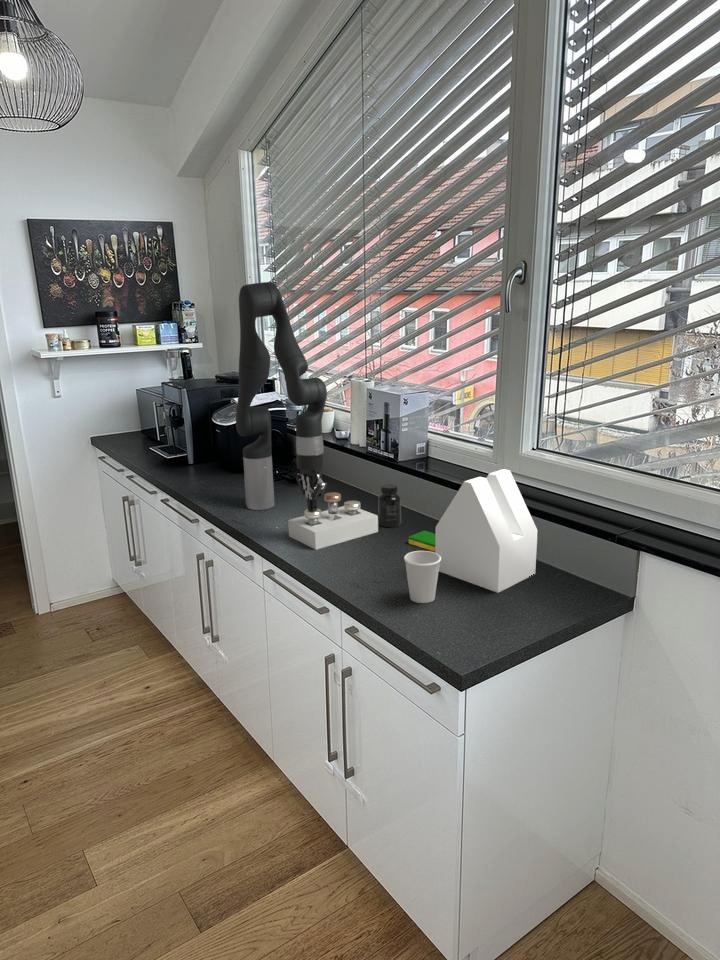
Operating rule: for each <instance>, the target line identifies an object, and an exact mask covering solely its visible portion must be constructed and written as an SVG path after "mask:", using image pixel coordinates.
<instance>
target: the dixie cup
mask: <svg viewBox="0 0 720 960" xmlns="http://www.w3.org/2000/svg"><path fill="white" fill-rule="evenodd" d="M403 559H404V563H405V568H406V569H405V570H406V577H407V584H408V585H407V586H408V592H409V598H410V601H412V602H415V603H417V604H427V603H432V602H433V601H434V600H435V598H436V593H437V584H438V579H439V573H440V571H439V565H440V561H441V557H440V556H439V555H438V554H437V553H435V552H434V551H431V550H416V551H409V552H408V553H406V554H405V555H404V557H403Z"/></svg>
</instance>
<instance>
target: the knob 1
mask: <svg viewBox="0 0 720 960" xmlns="http://www.w3.org/2000/svg"><path fill="white" fill-rule="evenodd" d="M321 512H322V509H320V508H317V511H314V512H310V511H308V508H306V509H305V510H304V511H303V513H304V515H303V516H304V517H305V518H308V525H309V526H314V525H318V518H319V517H321Z"/></svg>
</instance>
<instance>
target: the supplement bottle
mask: <svg viewBox="0 0 720 960" xmlns="http://www.w3.org/2000/svg"><path fill="white" fill-rule="evenodd" d="M380 492H381V494H379V496H378V499H377V501H378V502H377V505H378V506H377V507H378V525H379V526H380V527H383V528H396V527H399V526H401V524H402V499H401V498H402V497H401V495H400V494H399V493H398V492H399V491H398V485H396V484H392V483H391V484H390V483H389V484H383V485H381V487H380Z"/></svg>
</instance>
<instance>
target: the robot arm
mask: <svg viewBox="0 0 720 960" xmlns="http://www.w3.org/2000/svg"><path fill="white" fill-rule="evenodd" d="M238 310H239V313H238V314H239V333H240V335H239V337H240V339H239V340H240V341H239V355H238V356H239V358H238V396H237V402H236V403H237V404H236V413H235V427H236V428H235V429H236V433H237V434H238V435H239V436H241V437H256V436H258V438H257V439H256V440H254V441H253V442H251V443H249V444H247V445H246V446H244V447H243V448H242V460H243V471H244V472H243V473H244V475H243V476H244V478H243V479H244V480H243V481H244V494H245V495H244V496H245V497H244V498H245V505H246V508H247V509H248V510H254V511H262V510H269V509H271V508H273V507H274V506H275V490H274V476H273V475H274V474H273V470H274V469H273V457H272V456H273V455H272V417H271V413H270V410H269V408H268V407H267V406H264V405H263V406H262V405H261V406H251V405H252V403H253V400H254V398H255V397H256V396H257V394H258V393H259V392H260V391H261V390H262V388H263V386H265V384H266V382H267V381H268V379H269V378H270V377H269V376H270V371H271V370H270V369H271V368H270V367H271V354H270V352H269V349H268V348H267V346H266V345H265V343H264V341H263V340H262V339H261V338H260V336H259V334H258V332H257V327H256V320H257V318H263V317H268V316H272V318H273V319H274V322H275V324H276V326H275V335H274V341H273V342H274V343H273V351H274V356H275V358H276V360H277V362H278V364H279V366H280V368H281V370H282V372H283V376H284V381H285V386H286V393H287V397H288V400H289V401H290V402H291V404H293V405H295V406H298V407H303V406H307V408H306V410H305V411H303V412H302V413H300V414H298V415H297V416H296V418H295V430H296V431H295V432H296V440H295V451H296V452H295V453H296V467H297V469H298V470H300V472H299V473H300V474H299V475H296V476H295V479H296V483H297V484H298V486H299V489H300V492H301V494H302V495H303V496H304V495H305V499H306V503H307V509H308V511H310V512H314V511H317V509H318V499H320V498H322V496H324V494H325V491H326V489H327V487H328V483H327V482H326V481H323V480H322V479H323V476H322V475H323V474H322V469H323V468H325V457H324V456H325V455H324V453H325V452H324V440H323V426H322V421H323V415H324V411H325V408H326V407H325V406H326V402H327V397H328V391H327V386H326V384H325V382H324V380H322V379H321V378H319V377H310V378H301V377H302V376H304V374H306V373H307V371H308V370H309V364H308V362H307V359H306V357H305V355H304V354H303V352H302V350H301V348H300V346H299V344H298V341H297V339H296V337H295V334H294V331H293V328H292V325H291V321H290V318H289V317H290V316H289V314H288V310H287V308H286V306H285V302H284V299H283V296H282V293H281V292H280V290H279V288H278V286H277V285H276V283H274V282H272V281H263V282H256V283H249V284H244V285H242V286H241V287H240V289H239V294H238Z"/></svg>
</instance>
